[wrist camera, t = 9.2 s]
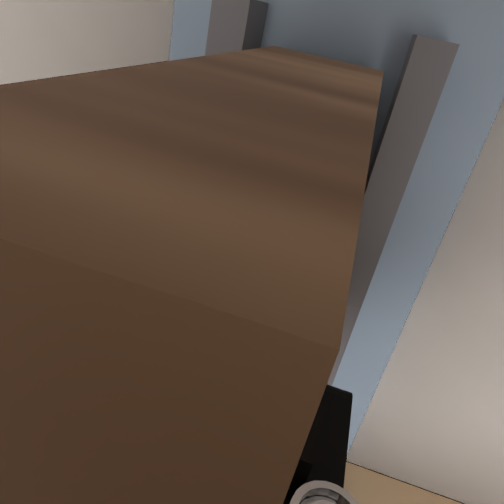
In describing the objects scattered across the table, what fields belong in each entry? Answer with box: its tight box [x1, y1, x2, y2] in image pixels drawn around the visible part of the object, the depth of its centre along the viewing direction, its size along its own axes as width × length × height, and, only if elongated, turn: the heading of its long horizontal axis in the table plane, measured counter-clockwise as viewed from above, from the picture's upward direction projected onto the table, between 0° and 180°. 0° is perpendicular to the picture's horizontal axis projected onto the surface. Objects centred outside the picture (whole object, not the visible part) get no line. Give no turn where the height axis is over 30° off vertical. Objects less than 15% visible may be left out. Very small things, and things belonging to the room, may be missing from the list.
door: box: [0, 46, 384, 504], centre depth 11 cm, size 15×3×12 cm, turn 169°
